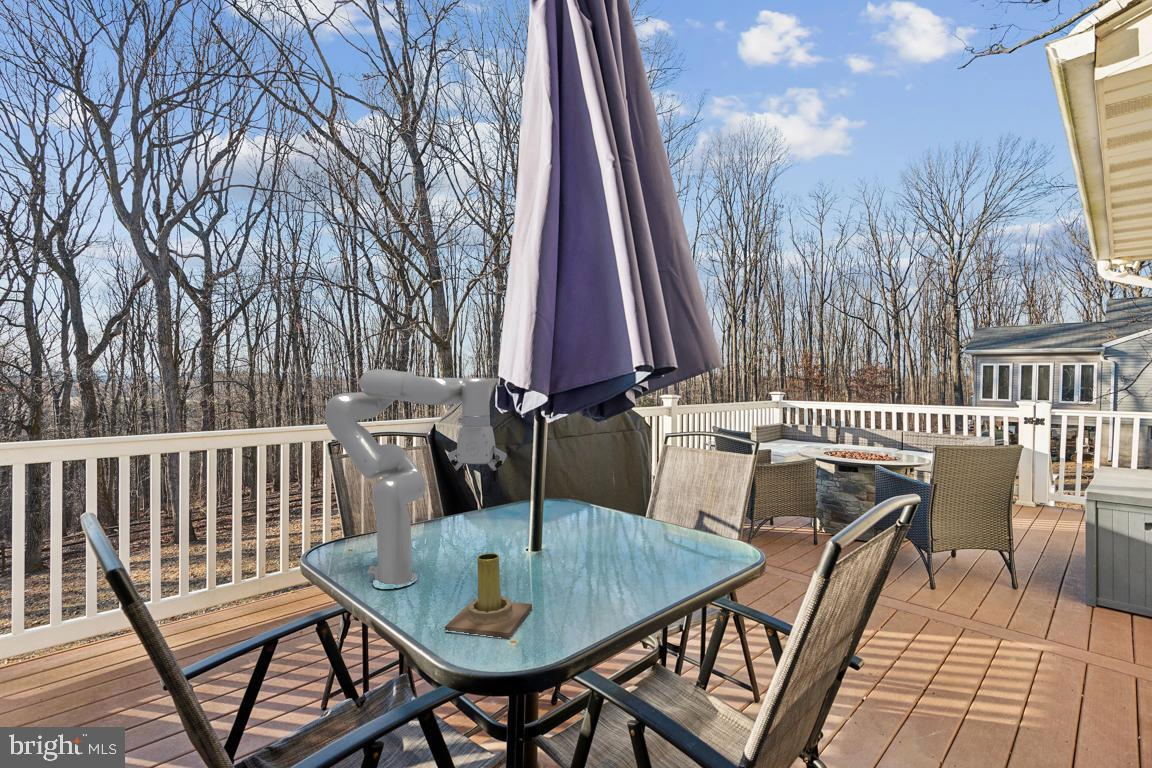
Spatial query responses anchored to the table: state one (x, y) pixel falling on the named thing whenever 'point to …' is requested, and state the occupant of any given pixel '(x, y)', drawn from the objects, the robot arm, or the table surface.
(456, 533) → the table surface
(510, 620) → the stand
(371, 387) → the robot arm
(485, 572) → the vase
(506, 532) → the table surface
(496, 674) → the table surface
